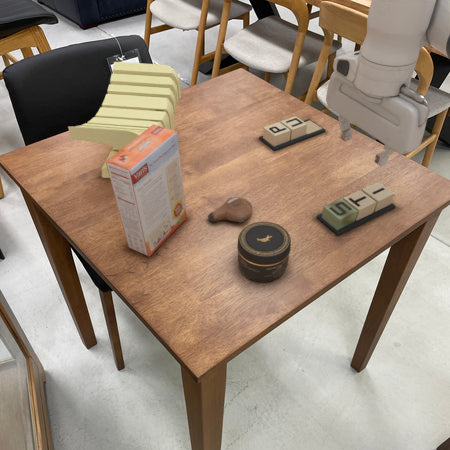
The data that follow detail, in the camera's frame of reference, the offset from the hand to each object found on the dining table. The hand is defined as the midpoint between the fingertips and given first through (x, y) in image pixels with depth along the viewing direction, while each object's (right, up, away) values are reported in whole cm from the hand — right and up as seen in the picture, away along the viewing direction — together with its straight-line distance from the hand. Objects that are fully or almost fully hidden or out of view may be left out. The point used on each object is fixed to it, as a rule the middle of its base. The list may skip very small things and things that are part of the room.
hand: (362, 150), depth 81 cm
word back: (-7, +17, +36) cm, 41 cm away
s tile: (-1, -10, +14) cm, 17 cm away
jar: (-18, -21, +6) cm, 28 cm away
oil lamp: (-24, -9, +16) cm, 30 cm away
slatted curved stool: (-46, +6, +28) cm, 55 cm away
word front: (+4, -8, +16) cm, 18 cm away
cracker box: (-40, -14, +12) cm, 44 cm away
